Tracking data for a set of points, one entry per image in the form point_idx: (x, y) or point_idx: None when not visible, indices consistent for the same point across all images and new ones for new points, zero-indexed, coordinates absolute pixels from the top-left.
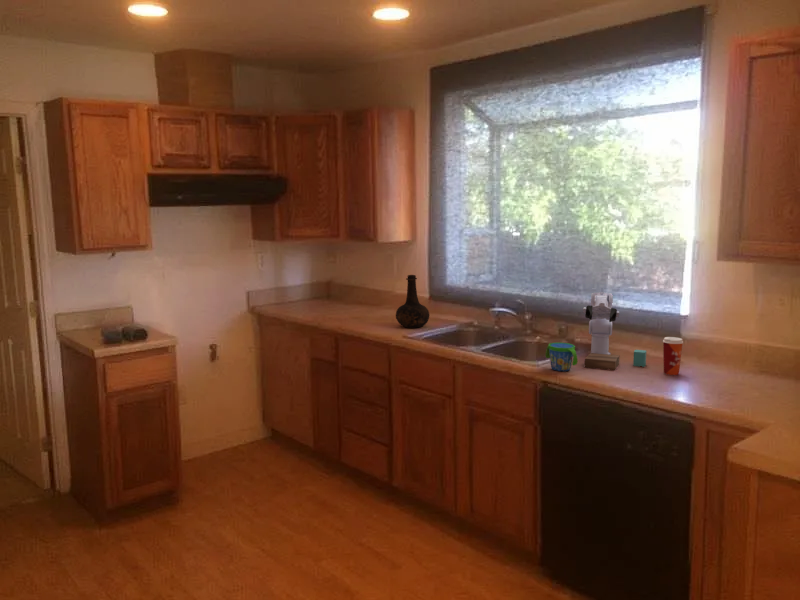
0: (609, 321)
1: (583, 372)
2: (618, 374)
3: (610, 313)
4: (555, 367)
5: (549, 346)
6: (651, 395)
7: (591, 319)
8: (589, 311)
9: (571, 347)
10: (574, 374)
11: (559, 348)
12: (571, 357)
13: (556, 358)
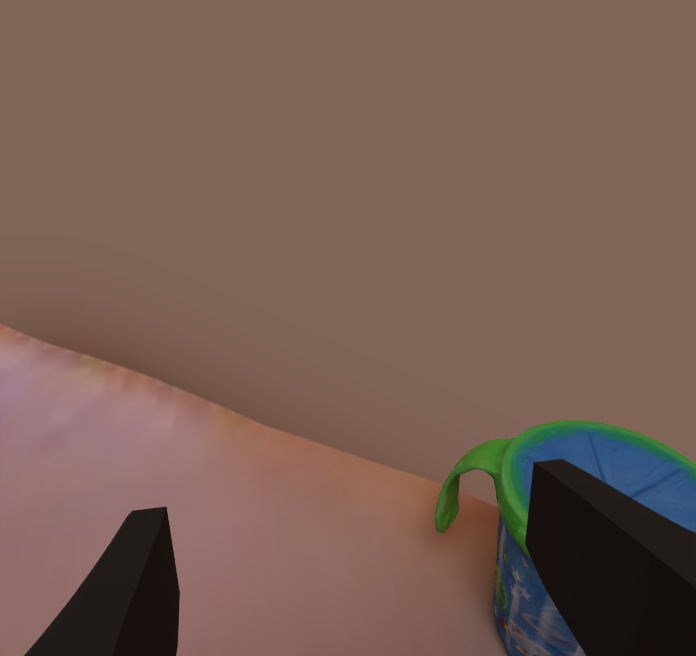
0: (174, 584)
1: (387, 611)
2: None
3: None
4: None
5: (676, 456)
6: (33, 343)
7: (527, 541)
8: (693, 535)
9: (510, 451)
10: (426, 543)
11: (574, 422)
12: (498, 533)
13: None
